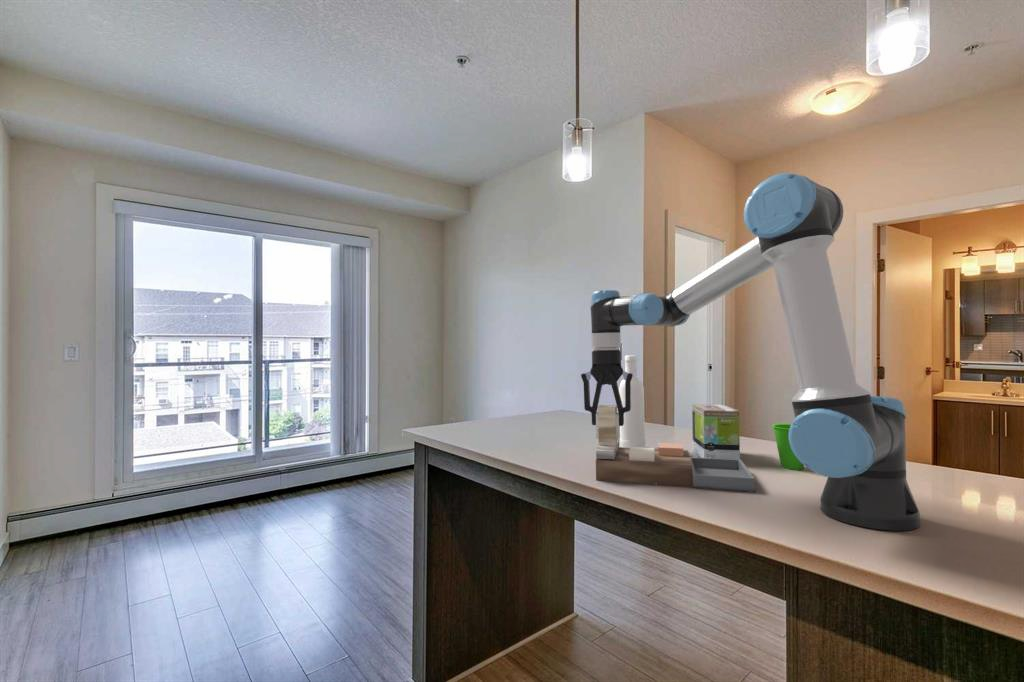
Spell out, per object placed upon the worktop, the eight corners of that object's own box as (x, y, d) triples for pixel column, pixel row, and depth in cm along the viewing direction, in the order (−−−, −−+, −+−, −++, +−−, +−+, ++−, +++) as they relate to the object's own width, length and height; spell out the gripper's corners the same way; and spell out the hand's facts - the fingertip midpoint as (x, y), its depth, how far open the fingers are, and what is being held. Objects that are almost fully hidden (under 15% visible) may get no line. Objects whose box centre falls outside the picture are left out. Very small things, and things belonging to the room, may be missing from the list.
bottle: (627, 445, 157) (625, 355, 157) (649, 448, 152) (647, 355, 152) (615, 449, 151) (613, 355, 151) (638, 452, 146) (636, 355, 146)
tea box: (741, 463, 131) (740, 410, 131) (703, 462, 133) (702, 409, 133) (725, 451, 146) (724, 403, 146) (691, 450, 148) (690, 403, 148)
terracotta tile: (683, 456, 119) (683, 448, 119) (658, 455, 121) (658, 447, 121) (682, 451, 125) (682, 443, 125) (658, 450, 126) (658, 442, 126)
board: (692, 486, 110) (692, 465, 110) (596, 480, 117) (595, 459, 117) (688, 469, 126) (687, 450, 126) (603, 464, 132) (602, 446, 132)
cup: (801, 463, 130) (800, 423, 130) (819, 472, 121) (818, 429, 121) (767, 463, 130) (766, 423, 131) (782, 471, 121) (781, 429, 122)
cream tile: (654, 461, 114) (654, 453, 114) (629, 460, 116) (628, 452, 116) (654, 456, 120) (654, 448, 120) (630, 454, 122) (630, 447, 122)
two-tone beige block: (614, 459, 116) (613, 410, 116) (596, 458, 117) (595, 410, 117) (619, 445, 131) (618, 402, 131) (603, 445, 132) (602, 402, 132)
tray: (755, 491, 106) (754, 478, 106) (693, 487, 109) (692, 474, 109) (741, 471, 123) (741, 459, 123) (688, 468, 127) (687, 457, 127)
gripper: (640, 348, 125) (642, 436, 125) (575, 349, 130) (577, 434, 130) (640, 348, 118) (642, 442, 118) (570, 350, 123) (572, 439, 123)
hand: (608, 437), depth 124 cm, fingers closed on two-tone beige block, 4 cm apart
